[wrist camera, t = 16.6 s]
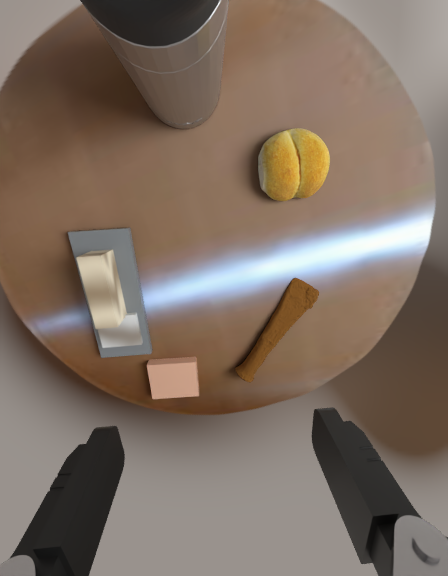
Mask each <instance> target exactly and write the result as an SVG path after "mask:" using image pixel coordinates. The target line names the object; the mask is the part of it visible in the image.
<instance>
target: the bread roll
mask: <svg viewBox="0 0 448 576" xmlns="http://www.w3.org/2000/svg"><path fill="white" fill-rule="evenodd" d="M329 162H330V157H329V152H328V149H327V147H326V145H325V143H324V142H323V141H322V140H321V139H320V138H319V137H318V136H317V135H316V134H314V133H312V132H310V131H308V130H306V129H300V128H296V129H290V130H286V131H282V132H280V133H277V134H275V135H274V136H272V137H271V138H269V139H268V140H267V141H266V142H265V143H264V144H263V147H262V149H261V151H260V154H259V156H258V172H259V180H260V186H261V189H262V190H263V191H264V192H265V193H267V195H268V196H269V197H271V198H272V199H274V200H278V201H287V200H289V199H291V198H294V197H297V198H307V197H310V196H312V195H313V194H314V193H315V192H316V191H317V190H318V189H319V188H320V187H321V186H322V184H323V182H324V181H325V178H326V176H327V173H328V169H329Z"/></svg>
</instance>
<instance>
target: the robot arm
mask: <svg viewBox="0 0 448 576" xmlns="http://www.w3.org/2000/svg"><path fill="white" fill-rule="evenodd" d="M81 2H82V3H83V5H84V6H85V8H86V9H87V11H88V13H89V14H90V16H91V17H92V19H93V20H94V22H95V23H96V25H97V26H98V28H99V30H100V31H101V33H102V34H103V36H104V37H105V39H106V40H107V42H108V43H109V45H110V46H111V48H112V49H113V51H114V52H115V54H116V56H117V57H118V59H119V60H120V62H121V63H122V65H123V67H124V68H125V70H126V71H127V73H128V74H129V76H130V77H131V79H132V81H133V82H134V84H135V85H136V87H137V88H138V90H139V92H140V93H141V95H142V96H143V98H144V99H145V101H146V103H147V104H148V106H149V107H150V109H151V110H152V111H153V113H154V114H155V115H156V116H157V117H158V118H159V119H160V120H161V121H162V122H164V123H166V124H167V125H169V126H172V127H175V128H178V129H189V128H194V127H196V126H198V125H201V124H202V123H203V122H204V121H206V120H207V119H208V118H209V117H210V115H211V114H212V113H213V111H214V109H215V107H216V105H217V102H218V99H219V95H220V86H221V77H222V68H223V57H224V46H225V35H226V25H227V14H228V3H229V0H81ZM312 443H313V448H314V451H315V454H316V456H317V459H318V461H319V464H320V466H321V468H322V471H323V473H324V476H325V478H326V480H327V483H328V485H329V488H330V490H331V492H332V495H333V497H334V499H335V502H336V504H337V507H338V509H339V511H340V514H341V516H342V519H343V521H344V524H345V526H346V528H347V531H348V533H349V536H350V538H351V540H352V543H353V545H354V548H355V550H356V552H357V555H358V557H359V560H360V562H361V564H367V563H373V564H374V567H375V569H376V571H377V573H378V575H379V576H448V537H446V536H444V535H443V534H442V533H441V532H440V531H439V530H438V529H437V528H436V527H434V526H433V525H432V524H430V523H429V522H427V521H425V520H424V519H422V518H421V516H420V515H419V514H418V513H417V512H416V510H415V509H414V508H413V506H412V505H411V503H410V502H409V500H408V499H407V497H406V495H405V494H404V492H403V491H402V489H401V488H400V487H399V485H398V483H397V482H396V480H395V479H394V478H393V476H392V474H391V473H390V471H389V470H388V468H387V467H386V465H385V464H384V462H383V461H381V458H380V456H379V455H378V453H377V452H376V450H375V449H373V446H372V444H371V443H370V441H369V440H368V438H367V437H366V435H365V434H364V432H363V431H362V430H360V429H359V428H358V427H357V426H356V425H355V424H354V423H352V422H351V421H346V422H343V420H342V419H341V417H340V415H339V413H338V412H337V410H336V409H335V408H322V409H315V410H314V416H313V427H312ZM124 458H125V457H124V449H123V446H122V442H121V439H120V435H119V432H118V428H117V427H116V426H110V427H98V428H95V429H94V430H93V432H92V434H91V436H90V438H89V439H88V441H87V443H86V444H80V445H79V446H78V447H77V448H76V449H75V450H74V451H73V452H72V453H71V454H70V455H69V456H68V457H67V459H66V461H65V462H64V464H63V466H62V467H61V470H60V471H59V473H58V476H57V478H55V480H54V482H53V484H52V485H51V487H50V491H49V492H48V493H47V494H46V496H45V498H44V500H43V502H42V504H41V505H40V508H39V509H38V511H37V512H36V514H35V516H34V518H33V520H32V522H31V523H30V525H29V527H28V529H27V531H26V532H25V534H24V536H23V538H22V539H21V541H20V543H19V545H18V546H17V548H16V550H15V551H14V553H13V554H12V556H11V557H10V559H8V560H7V561H5V562H3V563H2V564H1V565H0V576H89V573H90V570H91V567H92V564H93V561H94V558H95V555H96V551H97V548H98V545H99V542H100V539H101V536H102V533H103V530H104V527H105V523H106V521H107V518H108V514H109V511H110V508H111V505H112V502H113V499H114V496H115V493H116V490H117V487H118V484H119V480H120V477H121V474H122V471H123V467H124Z"/></svg>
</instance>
